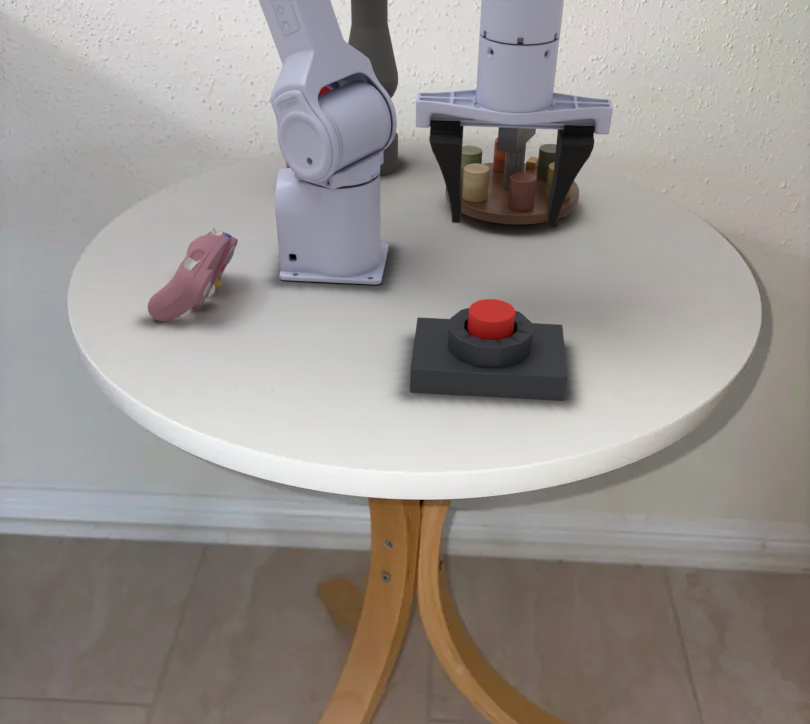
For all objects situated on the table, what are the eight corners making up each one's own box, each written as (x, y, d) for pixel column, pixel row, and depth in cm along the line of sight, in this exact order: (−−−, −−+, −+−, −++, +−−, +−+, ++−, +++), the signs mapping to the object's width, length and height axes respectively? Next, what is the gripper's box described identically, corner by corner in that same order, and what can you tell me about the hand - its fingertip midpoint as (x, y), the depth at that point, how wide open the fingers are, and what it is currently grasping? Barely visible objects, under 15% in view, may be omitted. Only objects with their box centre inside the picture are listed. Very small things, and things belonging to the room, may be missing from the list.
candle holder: (408, 162, 106) (412, -97, 89) (379, 180, 102) (376, -88, 85) (364, 151, 108) (359, -103, 91) (334, 168, 104) (323, -95, 87)
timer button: (466, 340, 70) (468, 320, 69) (468, 317, 73) (469, 297, 72) (513, 343, 70) (515, 322, 69) (513, 319, 73) (515, 299, 71)
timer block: (409, 393, 71) (410, 348, 69) (417, 340, 77) (417, 297, 74) (563, 401, 71) (570, 357, 68) (559, 347, 76) (565, 304, 74)
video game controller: (189, 343, 79) (214, 281, 74) (141, 317, 78) (163, 252, 74) (228, 290, 86) (252, 229, 82) (184, 265, 85) (206, 203, 81)
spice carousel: (553, 235, 89) (565, 143, 83) (423, 208, 94) (426, 119, 88) (594, 184, 99) (607, 98, 93) (475, 162, 103) (480, 78, 97)
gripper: (617, 22, 67) (590, 203, 77) (421, 16, 68) (418, 196, 77) (626, 50, 62) (596, 240, 71) (414, 43, 63) (412, 232, 72)
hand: (503, 219), depth 74 cm, fingers open, 7 cm apart
